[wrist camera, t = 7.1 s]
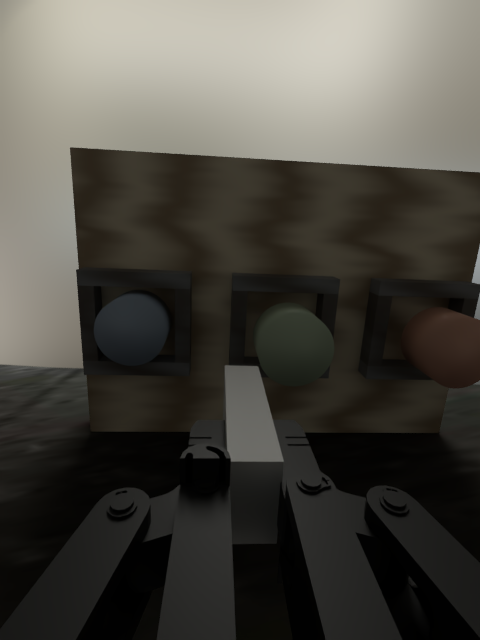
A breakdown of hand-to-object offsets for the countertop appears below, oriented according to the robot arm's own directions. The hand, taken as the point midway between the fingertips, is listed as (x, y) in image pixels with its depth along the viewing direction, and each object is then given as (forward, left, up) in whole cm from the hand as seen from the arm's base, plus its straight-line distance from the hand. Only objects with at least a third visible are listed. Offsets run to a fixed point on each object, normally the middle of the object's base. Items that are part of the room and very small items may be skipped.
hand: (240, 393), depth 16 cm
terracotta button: (-15, 0, -2) cm, 15 cm away
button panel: (-8, -9, -8) cm, 15 cm away
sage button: (-5, -4, -2) cm, 7 cm away
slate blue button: (+3, -10, -2) cm, 11 cm away
